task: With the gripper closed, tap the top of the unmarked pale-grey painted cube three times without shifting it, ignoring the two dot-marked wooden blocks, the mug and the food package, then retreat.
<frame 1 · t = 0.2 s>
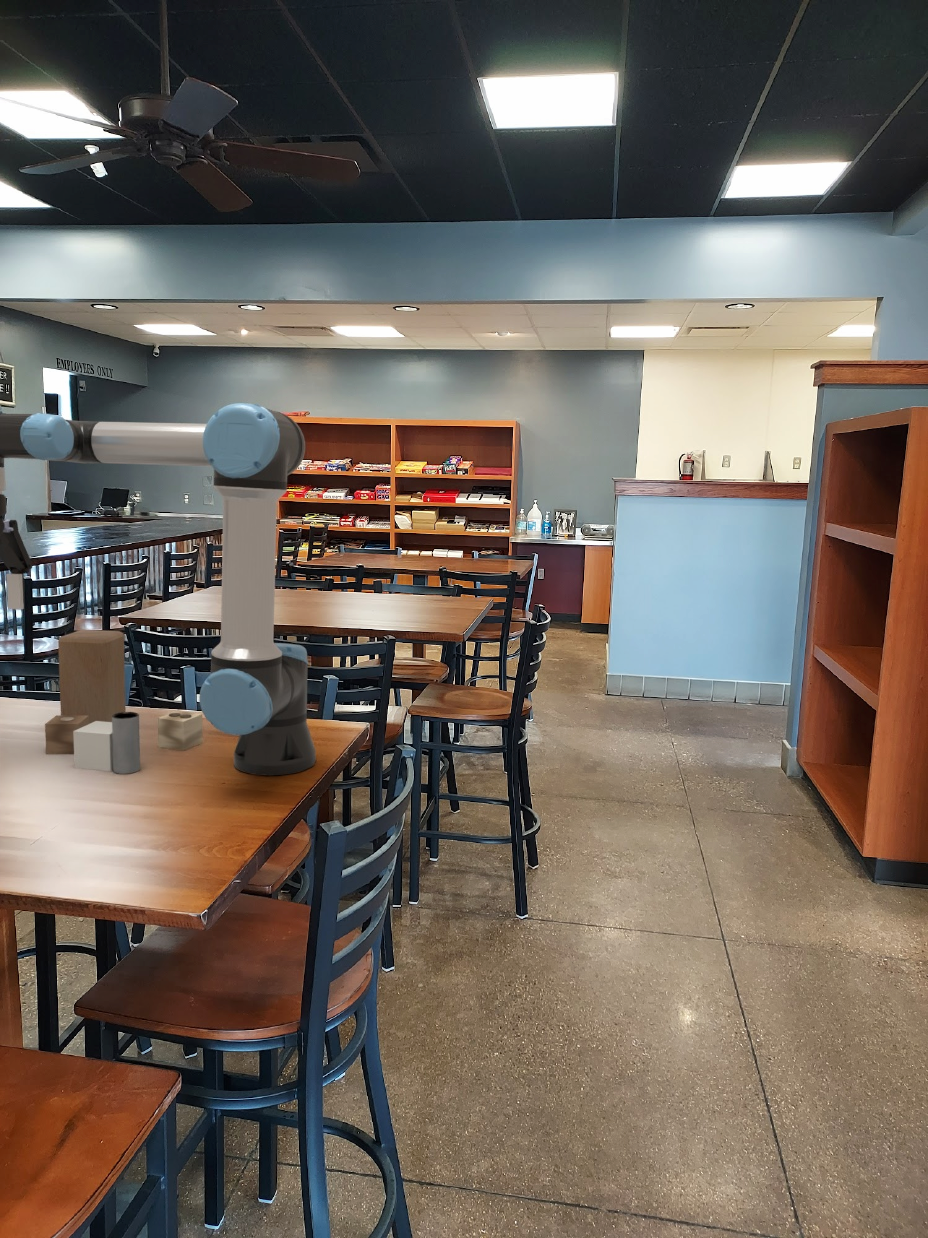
grey block: (103, 764, 150), on the table
walnut block: (68, 749, 157), on the table
maple block: (180, 745, 163), on the table
block: (94, 726, 173), on the table
planter: (126, 771, 147), on the table
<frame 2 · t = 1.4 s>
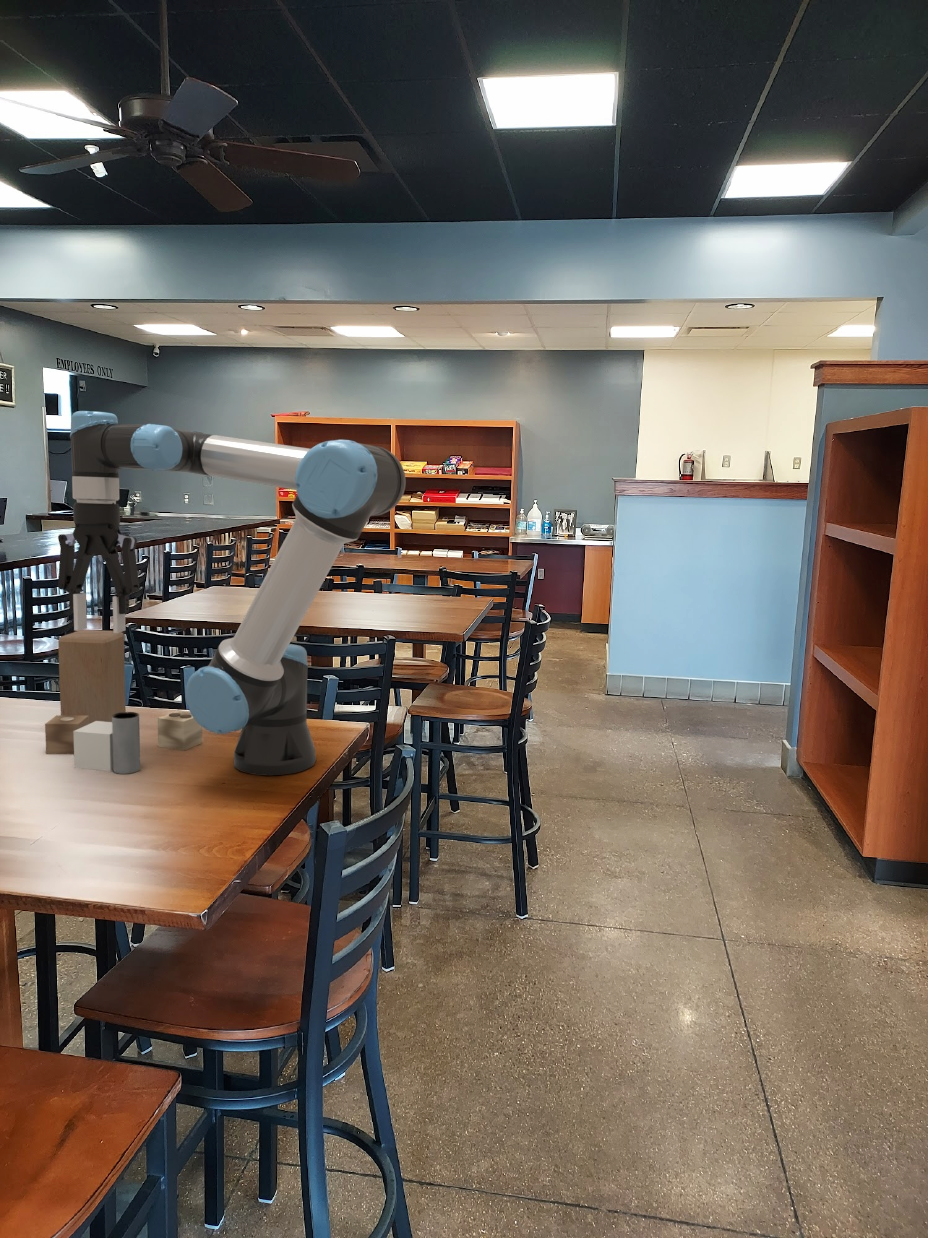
hand: (100, 630, 146), 25 cm above the table, fingers open, 7 cm apart
nothing on the table moved.
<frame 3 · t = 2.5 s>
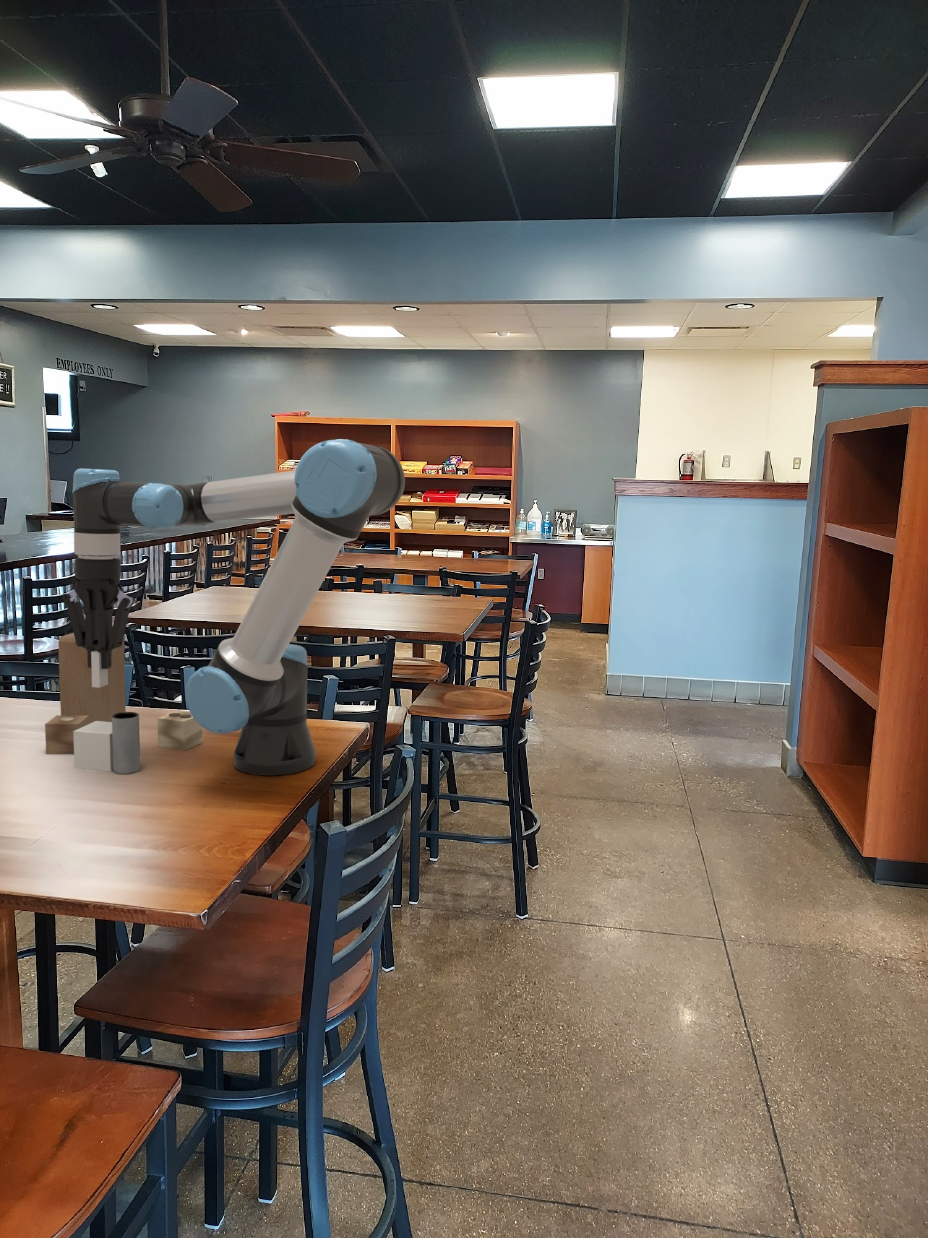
hand: (100, 685, 148), 15 cm above the table, fingers closed
nothing on the table moved.
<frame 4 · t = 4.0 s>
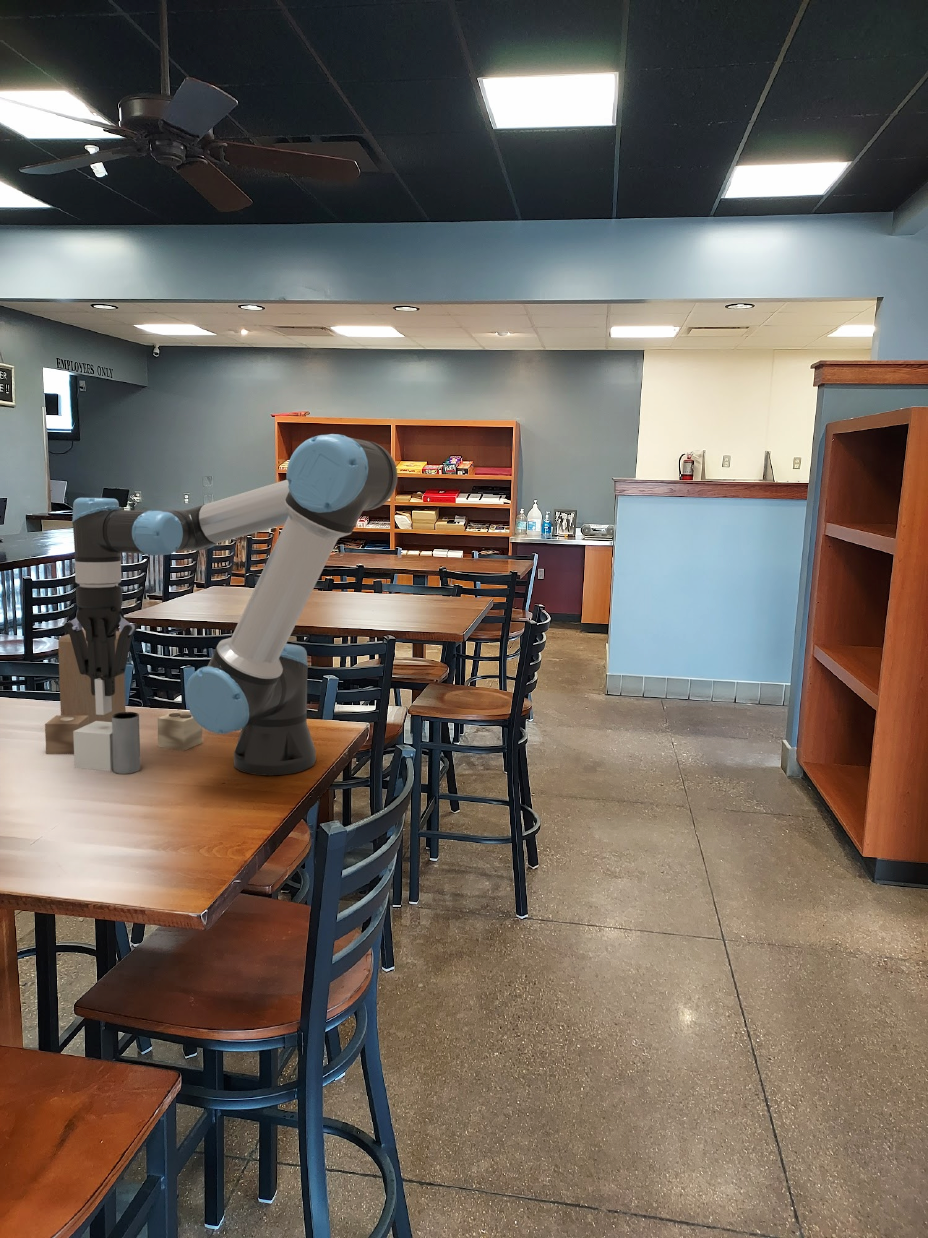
hand: (104, 712, 149), 10 cm above the table, fingers closed
nothing on the table moved.
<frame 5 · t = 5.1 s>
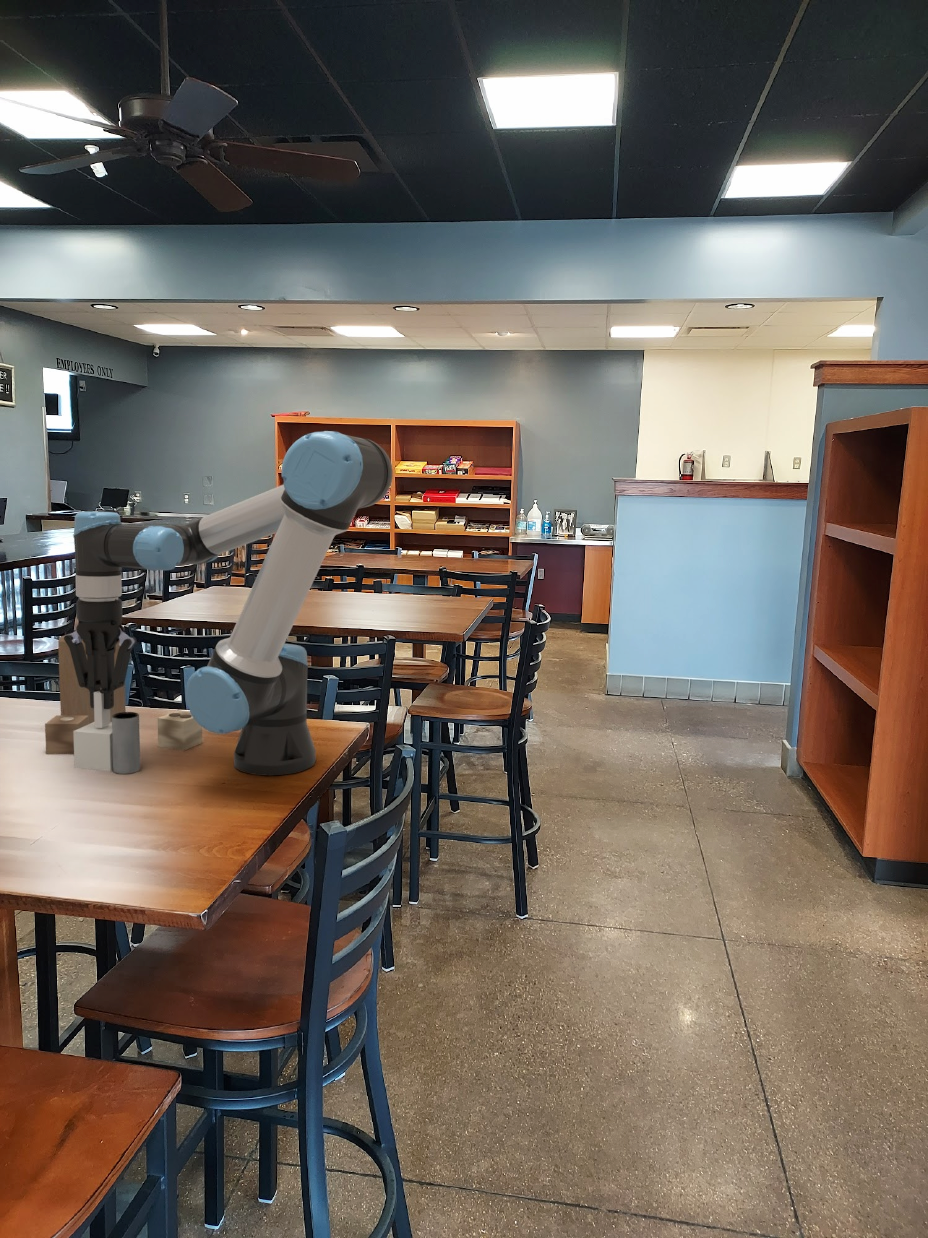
hand: (102, 725, 149), 7 cm above the table, fingers closed
nothing on the table moved.
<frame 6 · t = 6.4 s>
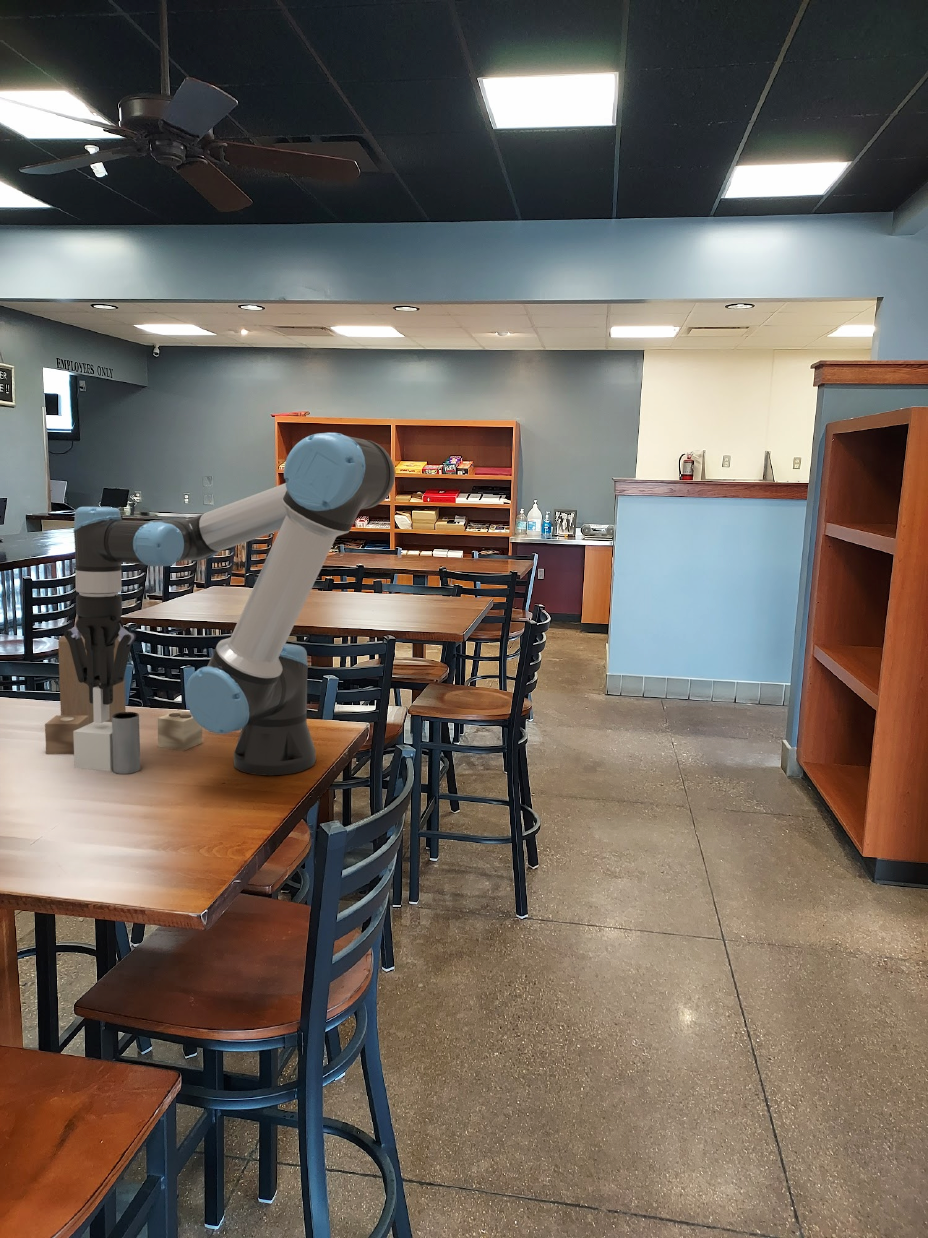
hand: (101, 720, 149), 8 cm above the table, fingers closed
nothing on the table moved.
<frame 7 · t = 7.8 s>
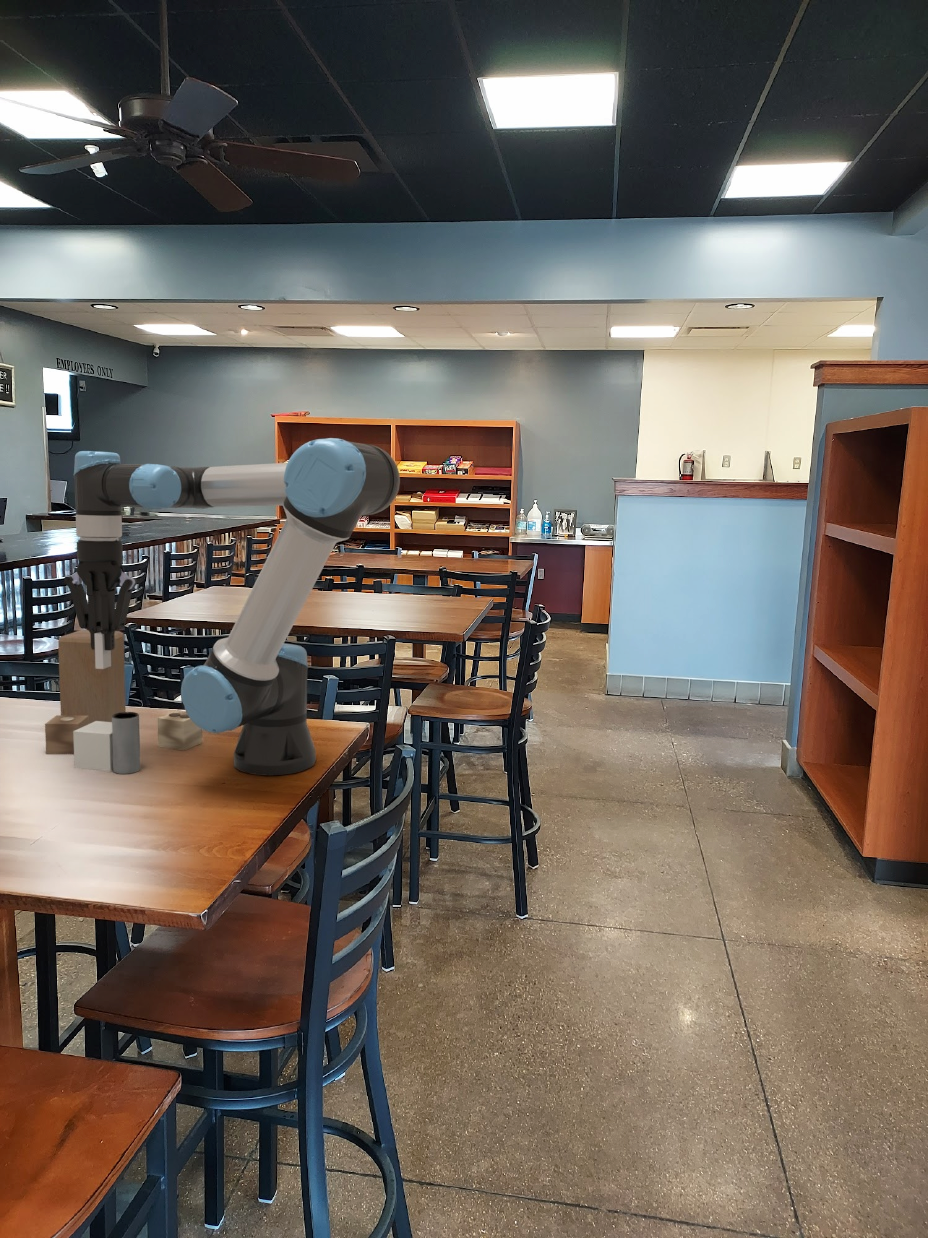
hand: (103, 667, 149), 18 cm above the table, fingers closed
nothing on the table moved.
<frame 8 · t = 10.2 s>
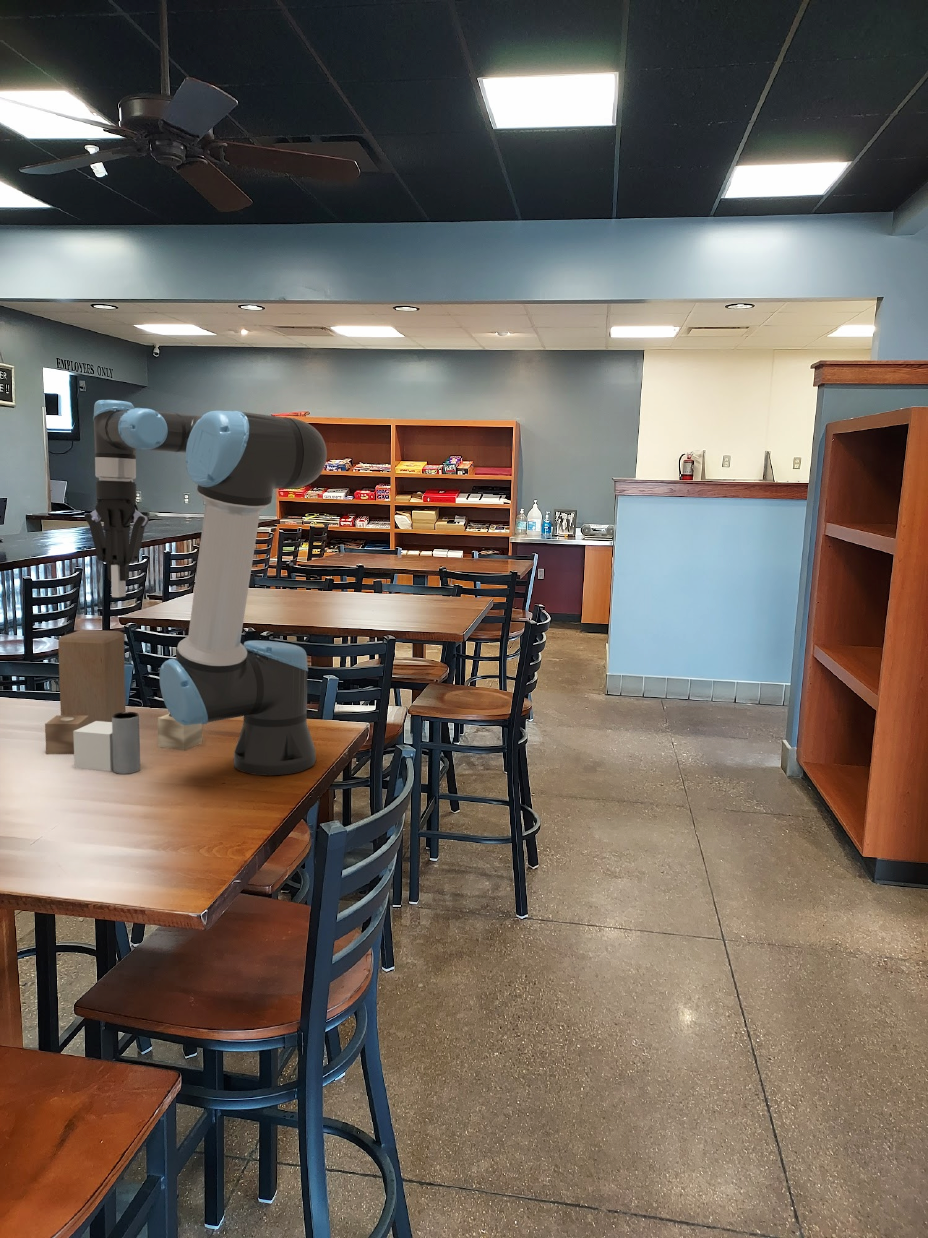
hand: (118, 596, 167), 28 cm above the table, fingers closed
nothing on the table moved.
at the end: grey block moved 0.1 cm from its start; grey block tilted 0°; walnut block moved 0.1 cm from its start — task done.
